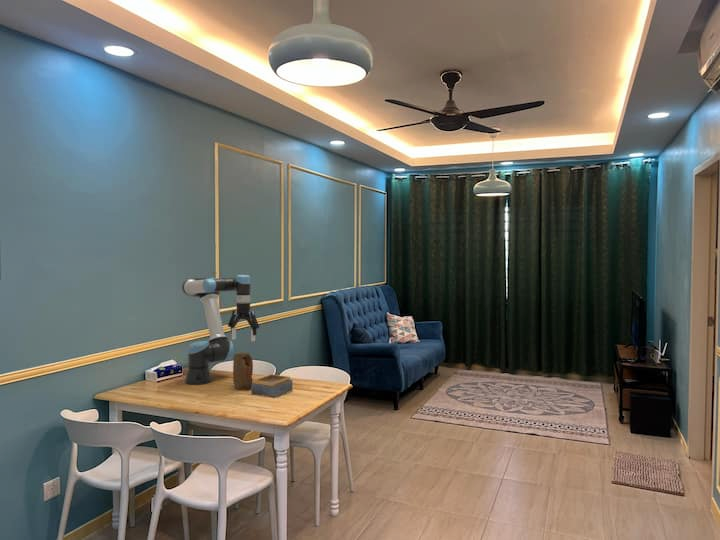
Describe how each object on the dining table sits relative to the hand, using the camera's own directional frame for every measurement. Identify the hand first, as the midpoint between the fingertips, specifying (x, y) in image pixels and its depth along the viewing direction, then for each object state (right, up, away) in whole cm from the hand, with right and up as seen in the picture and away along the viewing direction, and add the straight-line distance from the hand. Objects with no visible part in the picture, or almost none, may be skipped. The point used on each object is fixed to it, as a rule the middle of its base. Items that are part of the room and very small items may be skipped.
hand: (243, 340), depth 300 cm
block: (0, -28, +1) cm, 28 cm away
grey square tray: (+17, -28, -6) cm, 33 cm away
